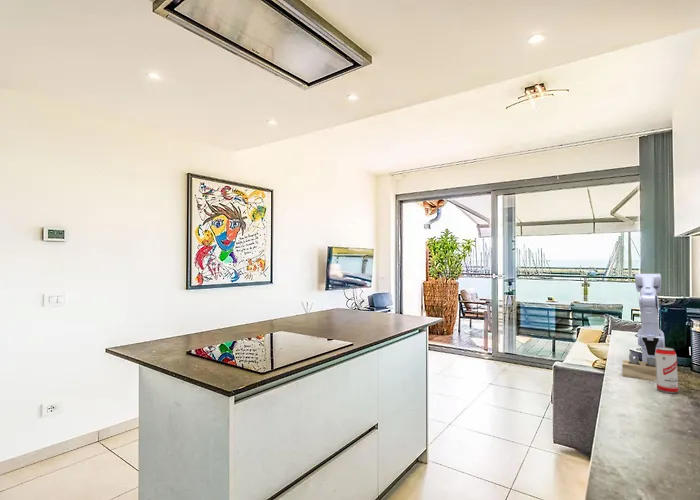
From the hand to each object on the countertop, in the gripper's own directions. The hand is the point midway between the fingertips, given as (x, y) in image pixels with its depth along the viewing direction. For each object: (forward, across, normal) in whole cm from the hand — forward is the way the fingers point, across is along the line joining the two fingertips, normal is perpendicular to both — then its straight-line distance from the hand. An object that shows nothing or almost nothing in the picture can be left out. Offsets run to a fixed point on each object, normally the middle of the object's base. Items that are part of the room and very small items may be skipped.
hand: (651, 355), depth 161 cm
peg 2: (+6, 0, 0) cm, 6 cm away
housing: (+9, 0, -4) cm, 10 cm away
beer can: (+10, +20, +4) cm, 22 cm away
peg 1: (+6, 0, -6) cm, 9 cm away
